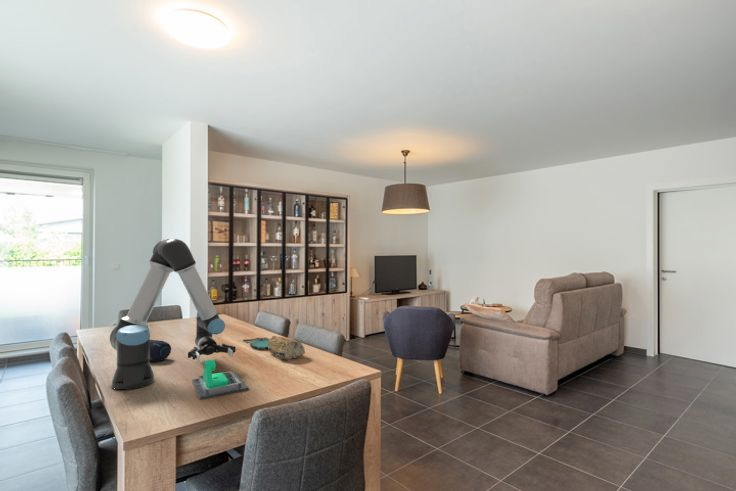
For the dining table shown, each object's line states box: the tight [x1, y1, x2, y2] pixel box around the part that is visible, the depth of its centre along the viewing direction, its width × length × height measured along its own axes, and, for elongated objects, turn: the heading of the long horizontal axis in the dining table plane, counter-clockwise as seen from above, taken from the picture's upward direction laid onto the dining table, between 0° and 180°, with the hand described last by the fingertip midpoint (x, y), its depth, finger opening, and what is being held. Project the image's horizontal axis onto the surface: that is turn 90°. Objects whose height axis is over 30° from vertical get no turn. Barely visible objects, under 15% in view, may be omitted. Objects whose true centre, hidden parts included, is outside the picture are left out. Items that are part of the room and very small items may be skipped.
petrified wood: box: [267, 335, 306, 360], centre depth 198 cm, size 19×13×10 cm
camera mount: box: [202, 359, 228, 388], centre depth 154 cm, size 12×8×10 cm, turn 34°
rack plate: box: [191, 370, 249, 400], centre depth 155 cm, size 18×22×2 cm
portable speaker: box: [149, 339, 172, 362], centre depth 192 cm, size 25×10×10 cm, turn 74°
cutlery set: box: [242, 337, 270, 350], centre depth 222 cm, size 20×30×2 cm, turn 37°
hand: (215, 356), depth 164 cm, fingers open, 13 cm apart
